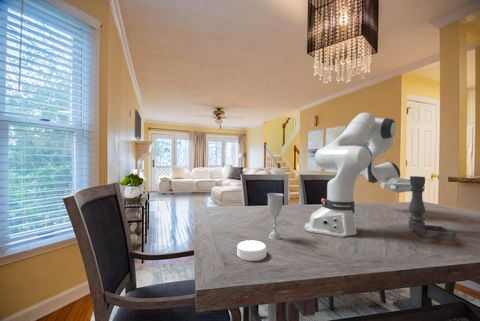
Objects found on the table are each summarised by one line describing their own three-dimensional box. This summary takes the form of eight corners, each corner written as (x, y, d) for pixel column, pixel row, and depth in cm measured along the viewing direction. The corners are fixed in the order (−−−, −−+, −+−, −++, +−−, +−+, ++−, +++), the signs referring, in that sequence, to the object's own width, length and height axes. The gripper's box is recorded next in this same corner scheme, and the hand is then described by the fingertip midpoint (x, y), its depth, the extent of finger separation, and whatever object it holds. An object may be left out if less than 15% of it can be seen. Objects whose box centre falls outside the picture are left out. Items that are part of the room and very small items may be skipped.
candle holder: (428, 231, 104) (428, 177, 104) (412, 230, 105) (413, 177, 105) (420, 227, 110) (421, 176, 110) (405, 226, 111) (406, 176, 111)
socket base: (422, 242, 89) (422, 231, 89) (409, 233, 101) (410, 223, 101) (460, 246, 86) (460, 234, 86) (442, 236, 97) (442, 225, 97)
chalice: (262, 236, 95) (263, 193, 95) (276, 233, 98) (276, 192, 98) (273, 241, 88) (273, 196, 88) (286, 239, 91) (287, 195, 91)
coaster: (240, 248, 82) (240, 238, 82) (267, 250, 80) (267, 241, 80) (233, 259, 73) (234, 249, 73) (264, 263, 70) (264, 252, 70)
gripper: (377, 179, 135) (384, 181, 122) (417, 180, 129) (429, 182, 116) (377, 189, 136) (384, 193, 122) (417, 191, 129) (429, 194, 116)
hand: (407, 188), depth 119 cm, fingers open, 8 cm apart
